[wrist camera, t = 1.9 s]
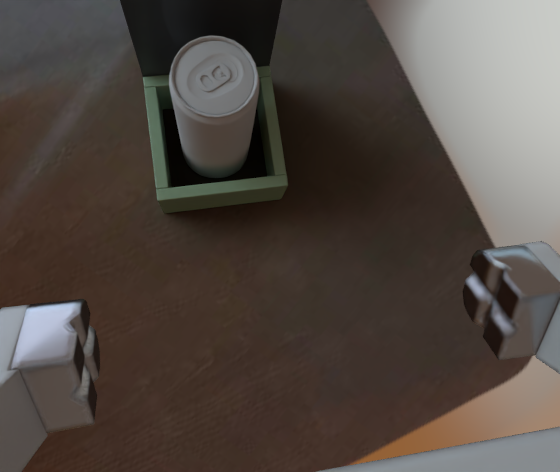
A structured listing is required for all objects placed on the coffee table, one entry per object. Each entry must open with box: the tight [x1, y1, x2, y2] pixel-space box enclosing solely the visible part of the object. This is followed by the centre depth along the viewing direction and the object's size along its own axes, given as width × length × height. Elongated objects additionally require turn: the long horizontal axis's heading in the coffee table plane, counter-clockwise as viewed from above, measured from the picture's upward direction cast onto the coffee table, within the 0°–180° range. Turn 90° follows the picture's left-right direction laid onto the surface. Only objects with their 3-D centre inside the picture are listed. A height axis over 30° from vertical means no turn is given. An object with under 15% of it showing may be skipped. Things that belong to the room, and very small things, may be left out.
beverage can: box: [169, 35, 260, 178], centre depth 33 cm, size 5×5×12 cm
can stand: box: [120, 0, 288, 213], centre depth 33 cm, size 10×9×14 cm
